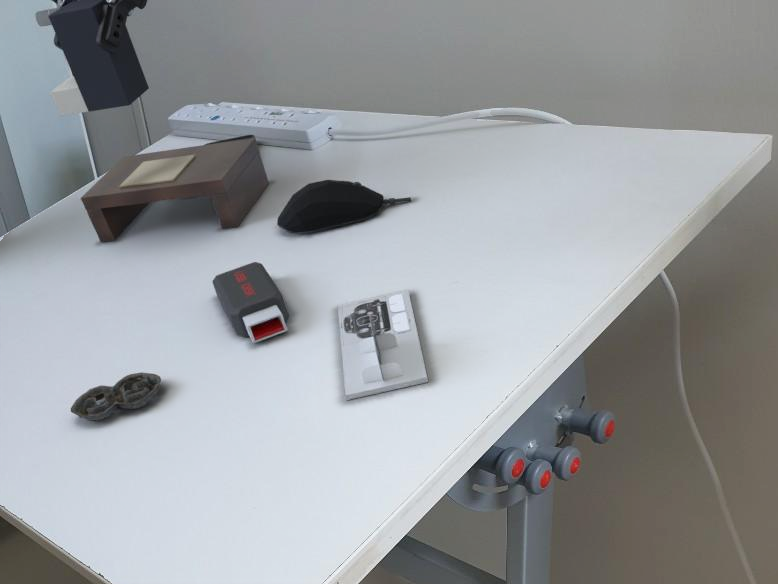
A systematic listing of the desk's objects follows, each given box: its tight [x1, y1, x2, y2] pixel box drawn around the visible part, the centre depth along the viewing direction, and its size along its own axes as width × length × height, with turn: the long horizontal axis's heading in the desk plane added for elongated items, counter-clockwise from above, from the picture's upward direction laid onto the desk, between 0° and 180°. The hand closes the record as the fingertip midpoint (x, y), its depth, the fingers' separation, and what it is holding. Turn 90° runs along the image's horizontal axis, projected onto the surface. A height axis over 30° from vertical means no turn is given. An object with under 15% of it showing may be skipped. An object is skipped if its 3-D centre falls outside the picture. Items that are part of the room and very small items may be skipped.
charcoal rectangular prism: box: [48, 0, 150, 117], centre depth 90 cm, size 8×5×9 cm, turn 78°
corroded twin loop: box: [70, 371, 162, 421], centre depth 75 cm, size 5×8×1 cm, turn 110°
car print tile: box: [337, 289, 429, 401], centre depth 73 cm, size 15×7×4 cm, turn 6°
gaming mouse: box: [276, 179, 412, 234], centre depth 94 cm, size 6×15×4 cm, turn 93°
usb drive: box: [212, 261, 290, 344], centre depth 82 cm, size 5×12×3 cm, turn 21°
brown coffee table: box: [80, 137, 270, 243], centre depth 104 cm, size 18×12×6 cm, turn 79°
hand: (85, 49), depth 88 cm, fingers closed on charcoal rectangular prism, 6 cm apart
